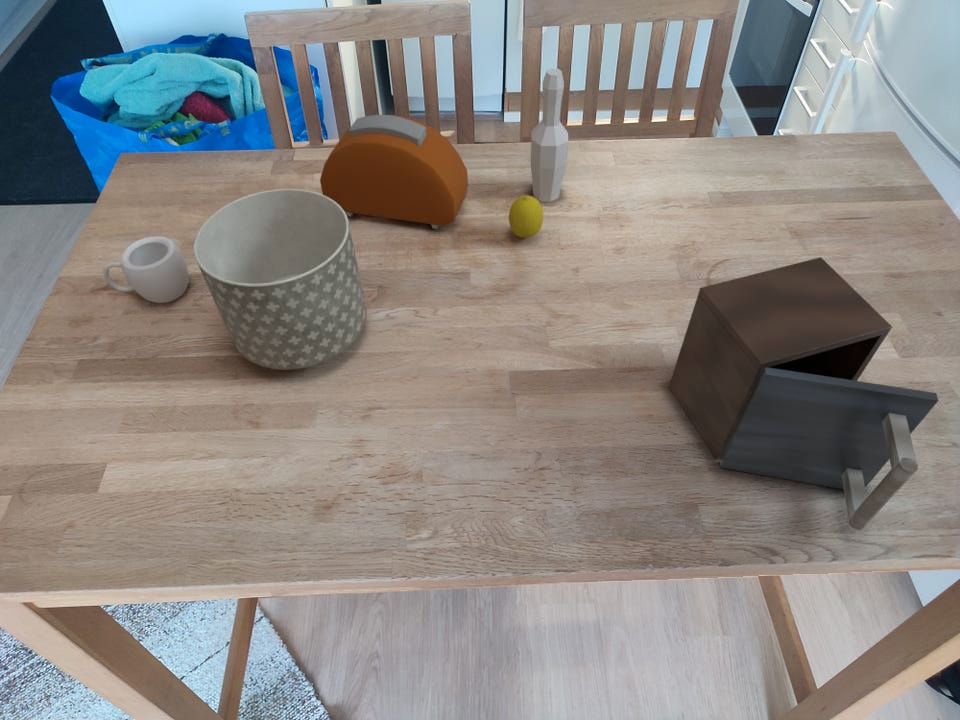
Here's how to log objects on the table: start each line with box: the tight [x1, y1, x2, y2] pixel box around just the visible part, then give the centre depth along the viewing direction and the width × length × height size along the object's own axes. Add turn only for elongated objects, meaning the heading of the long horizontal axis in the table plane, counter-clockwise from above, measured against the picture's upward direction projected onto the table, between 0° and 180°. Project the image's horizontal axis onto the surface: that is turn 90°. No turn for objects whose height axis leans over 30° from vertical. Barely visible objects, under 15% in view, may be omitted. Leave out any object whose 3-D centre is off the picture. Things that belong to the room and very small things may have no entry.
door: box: [719, 367, 939, 531], centre depth 69 cm, size 8×16×18 cm, turn 77°
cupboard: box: [668, 257, 893, 460], centre depth 79 cm, size 12×16×18 cm
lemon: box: [508, 194, 544, 239], centre depth 106 cm, size 6×6×8 cm
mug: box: [102, 235, 190, 304], centre depth 99 cm, size 12×8×8 cm
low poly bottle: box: [530, 67, 569, 203], centre depth 108 cm, size 6×6×22 cm
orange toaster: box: [319, 114, 469, 230], centre depth 108 cm, size 23×9×17 cm, turn 76°
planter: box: [193, 188, 368, 371], centre depth 89 cm, size 19×19×18 cm
